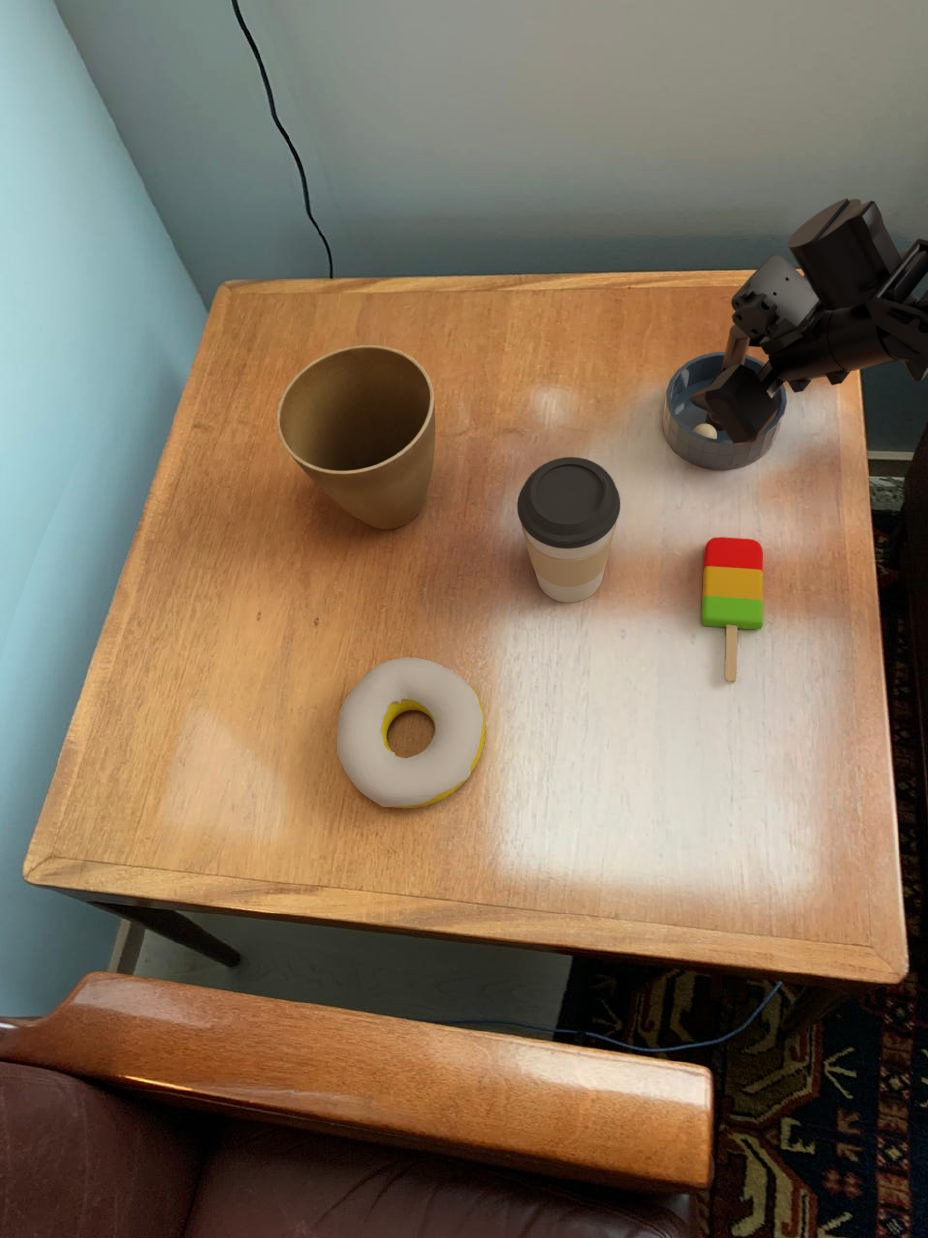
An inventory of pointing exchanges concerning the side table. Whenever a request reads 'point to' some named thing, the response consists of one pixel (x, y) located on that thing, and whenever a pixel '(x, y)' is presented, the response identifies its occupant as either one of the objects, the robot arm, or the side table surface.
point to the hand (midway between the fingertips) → (718, 370)
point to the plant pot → (363, 431)
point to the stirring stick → (732, 360)
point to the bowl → (687, 416)
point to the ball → (706, 431)
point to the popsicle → (732, 591)
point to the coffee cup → (569, 525)
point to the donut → (376, 708)
